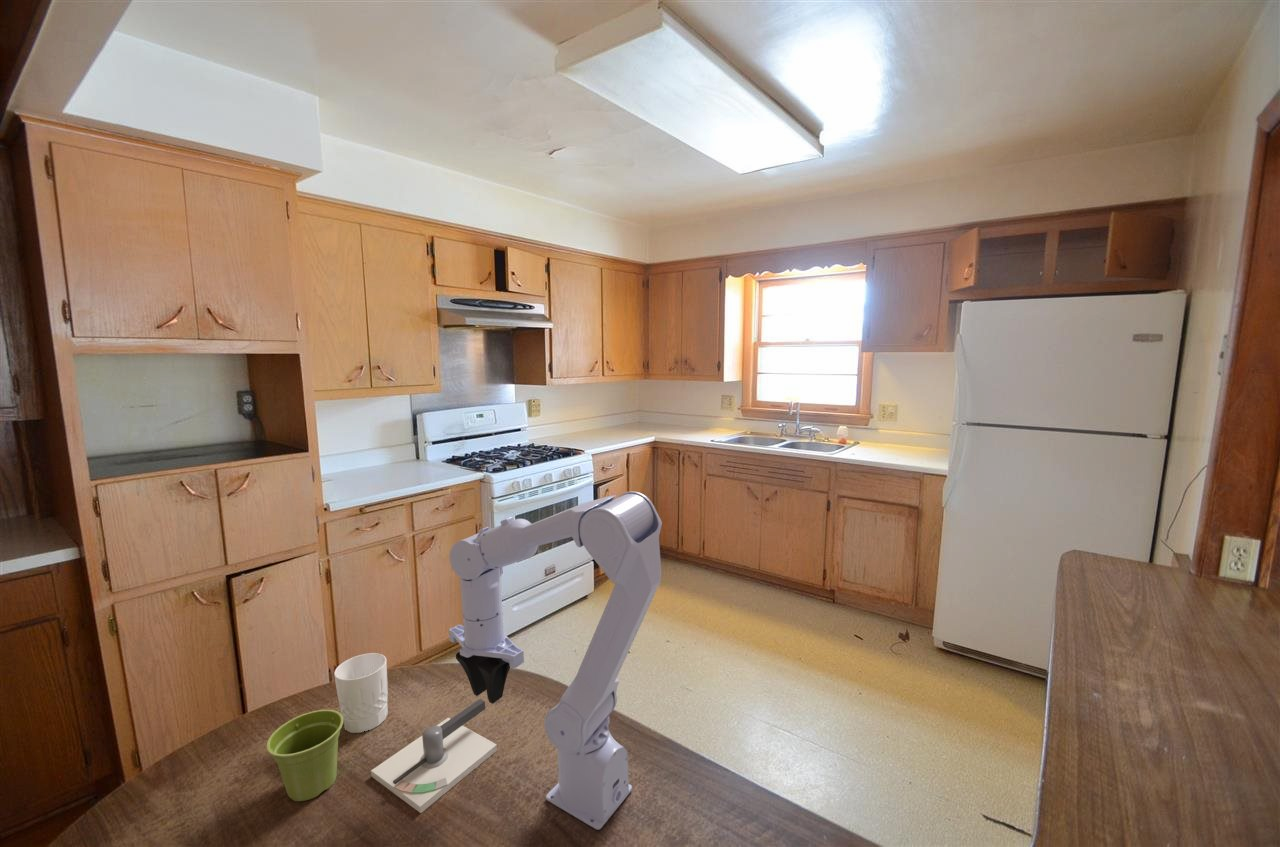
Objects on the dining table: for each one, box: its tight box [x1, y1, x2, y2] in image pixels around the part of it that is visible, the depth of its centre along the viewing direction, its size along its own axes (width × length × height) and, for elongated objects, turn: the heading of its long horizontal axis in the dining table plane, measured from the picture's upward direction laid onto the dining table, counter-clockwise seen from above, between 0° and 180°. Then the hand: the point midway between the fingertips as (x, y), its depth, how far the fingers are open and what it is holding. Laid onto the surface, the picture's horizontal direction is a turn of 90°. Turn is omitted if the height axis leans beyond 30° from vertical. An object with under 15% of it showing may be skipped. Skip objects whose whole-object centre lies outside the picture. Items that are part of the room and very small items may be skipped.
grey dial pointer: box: [393, 698, 486, 784], centre depth 81 cm, size 16×3×4 cm, turn 147°
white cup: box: [333, 652, 389, 734], centre depth 90 cm, size 8×8×10 cm
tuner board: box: [370, 717, 498, 814], centre depth 80 cm, size 12×14×1 cm
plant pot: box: [266, 709, 344, 802], centre depth 76 cm, size 9×9×9 cm
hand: (488, 695), depth 81 cm, fingers open, 3 cm apart
